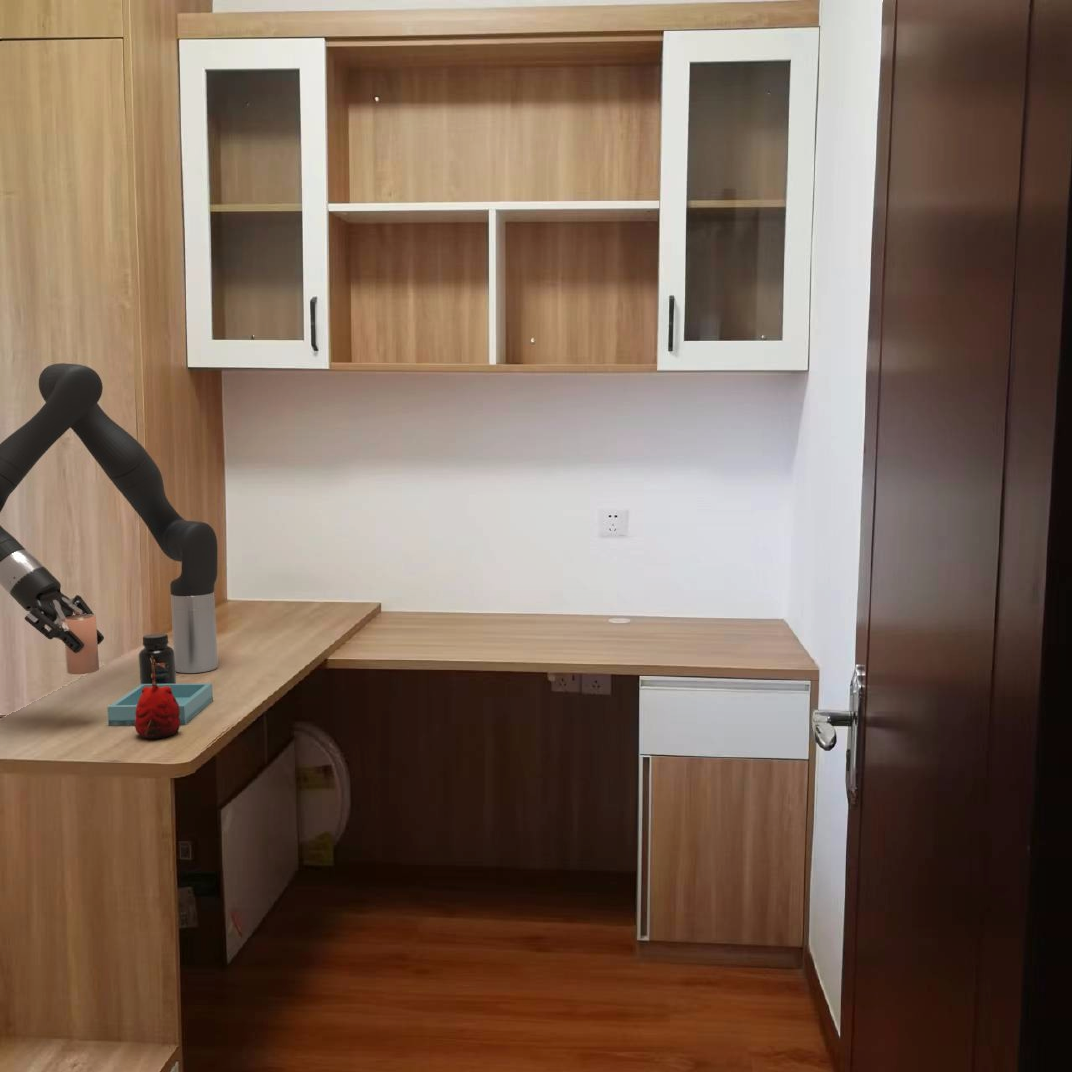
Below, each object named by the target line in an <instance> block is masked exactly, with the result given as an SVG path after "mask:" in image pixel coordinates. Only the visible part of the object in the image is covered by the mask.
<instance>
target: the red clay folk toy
mask: <svg viewBox="0 0 1072 1072" xmlns="http://www.w3.org/2000/svg"><path fill="white" fill-rule="evenodd" d="M150 660H151V666H152V672H153V673H152V674H151V678H152V679H153V682H152V687H148V686H147V687H144V688H143V689H142V695H141V696H140V698H139V701H138V703H137V707H136V712H135V715H136V719H135V725H134V728H135V731H136V733H137V734H138V735H139V736H140V737H141V738H144V739H148V740H158V739H159V740H160V739H163V738H166V737H171V736H174V735H175V734H176V733H178V731H179V729H180V726H181V725H180V718H179V715H180V709H179V705H178V703H177V701H176V699H175V697H174V696H173V694H172V689H171V688H170V687H169V686H165V687H158V686H157V684H156V681H155V666H160V667H163V668H165V663H161V664H159V663H158V664H157V663H155V660H153V656H151V658H150Z"/></svg>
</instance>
